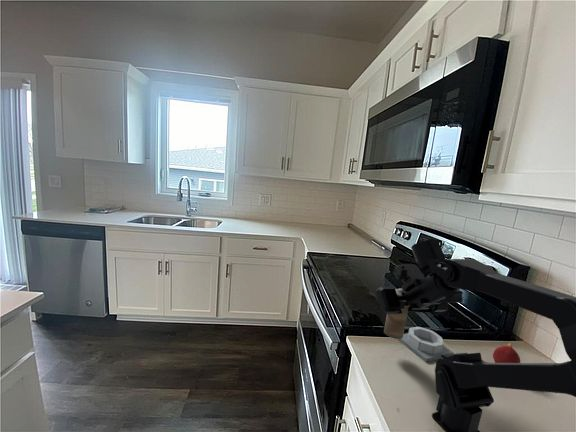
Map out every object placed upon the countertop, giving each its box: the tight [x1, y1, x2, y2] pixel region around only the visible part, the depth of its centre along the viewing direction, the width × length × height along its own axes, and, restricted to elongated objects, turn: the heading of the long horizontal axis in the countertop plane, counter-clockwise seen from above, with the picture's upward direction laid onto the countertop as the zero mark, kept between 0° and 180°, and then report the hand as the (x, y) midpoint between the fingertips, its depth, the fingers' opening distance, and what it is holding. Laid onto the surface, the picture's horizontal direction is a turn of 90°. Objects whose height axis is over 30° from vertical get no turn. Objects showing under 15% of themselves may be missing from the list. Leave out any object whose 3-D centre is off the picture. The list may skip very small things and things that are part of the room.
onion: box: [492, 343, 521, 363], centre depth 74 cm, size 6×6×8 cm
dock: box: [397, 326, 455, 363], centre depth 82 cm, size 11×11×4 cm
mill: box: [383, 287, 409, 340], centre depth 75 cm, size 5×5×13 cm
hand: (394, 308), depth 77 cm, fingers closed on mill, 5 cm apart
